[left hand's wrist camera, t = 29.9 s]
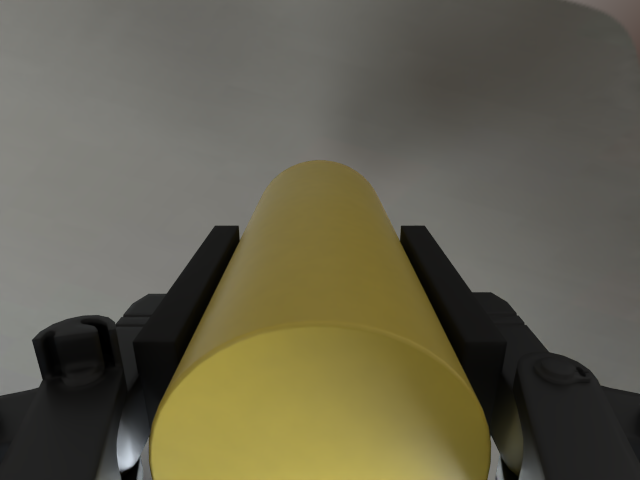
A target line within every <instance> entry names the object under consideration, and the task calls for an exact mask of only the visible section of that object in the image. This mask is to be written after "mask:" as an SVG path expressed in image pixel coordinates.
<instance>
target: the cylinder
mask: <svg viewBox="0 0 640 480" xmlns="http://www.w3.org/2000/svg"><path fill="white" fill-rule="evenodd" d="M490 462H491V440H490V433H489V427H488V424H487V421H486V418H485V415H484V412H483V409H482V407H481V405H480V403H479V401H478V399H477V397H476V395H475V392H474V390H473V388H472V386H471V384H470V382H469V380H468V378H467V376H466V374H465V372H464V370H463V368H462V366H461V364H460V362H459V360H458V358H457V356H456V354H455V352H454V350H453V348H452V346H451V344H450V342H449V340H448V338H447V336H446V334H445V332H444V330H443V328H442V326H441V324H440V322H439V320H438V318H437V315H436V313H435V311H434V309H433V307H432V305H431V303H430V301H429V299H428V297H427V295H426V293H425V291H424V289H423V287H422V285H421V283H420V281H419V279H418V277H417V275H416V273H415V271H414V269H413V267H412V265H411V263H410V261H409V259H408V257H407V255H406V253H405V251H404V249H403V247H402V245H401V243H400V241H399V238H398V236H397V234H396V232H395V230H394V228H393V226H392V224H391V222H390V220H389V218H388V216H387V214H386V212H385V210H384V208H383V206H382V204H381V202H380V200H379V198H378V196H377V194H376V192H375V190H374V189H373V187H372V186H371V185H370V183H369V182H368V181H367V180H366V179H365V178H364V177H363V176H362V175H360V174H359V173H358V172H357V171H355V170H353V169H352V168H350V167H348V166H345V165H343V164H340V163H336V162H332V161H325V160H315V161H307V162H303V163H299V164H297V165H294V166H292V167H290V168H288V169H286V170H285V171H283V172H282V173H280V174H279V175H278V176H277V177H276V178H275V179H274V180H273V181H272V182H271V183H270V184H269V185H268V187H267V188H266V190H265V191H264V193H263V195H262V197H261V199H260V201H259V203H258V205H257V207H256V209H255V211H254V213H253V215H252V217H251V219H250V221H249V223H248V225H247V227H246V229H245V231H244V233H243V235H242V237H241V240H240V242H239V244H238V246H237V248H236V250H235V252H234V254H233V256H232V258H231V260H230V262H229V264H228V266H227V268H226V270H225V272H224V274H223V276H222V278H221V280H220V282H219V284H218V286H217V288H216V290H215V292H214V294H213V296H212V298H211V300H210V302H209V304H208V306H207V308H206V311H205V313H204V315H203V317H202V319H201V321H200V323H199V325H198V327H197V329H196V331H195V333H194V335H193V337H192V339H191V341H190V343H189V345H188V347H187V349H186V351H185V353H184V355H183V357H182V359H181V361H180V363H179V365H178V367H177V369H176V371H175V373H174V375H173V377H172V380H171V382H170V384H169V386H168V388H167V390H166V392H165V394H164V396H163V398H162V400H161V402H160V404H159V406H158V409H157V411H156V414H155V417H154V419H153V422H152V427H151V432H150V437H149V464H150V470H151V476H152V479H153V480H487V478H488V473H489V468H490Z"/></svg>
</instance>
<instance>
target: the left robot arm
mask: <svg viewBox="0 0 640 480" xmlns="http://www.w3.org/2000/svg"><path fill="white" fill-rule="evenodd" d="M239 242H240V239H239V226H215V227H214V228H213V229H212V231H211V232H210V234H209V235H208V236H207V238H206V239H205V241H204V242H203V243H202V245H201V246H200V248H199V249H198V250H197V252H196V253H195V255H194V256H193V258H192V259H191V260H190V262H189V263H188V265H187V266H186V267H185V269H184V270H183V272H182V273H181V274H180V276H179V277H178V279H177V280H176V281H175V283H174V284H173V286H172V287H171V288H170V290H169V291H168V293H167V294H148V295H146V296H144V297H143V298H141V299H140V300H138V301H136V302H135V303H133V304H132V305H131V306H130V308H129V309H128V310H127V311H126V312H125V314H124V315H123V317H121V318H120V320H119V321H118V322H117V323H116V326H115V322H114V321H113V320H111V319H110V318H109V317H104V316H99V315H89V316H79V317H75V318H70V319H66V320H63V321H61V322H58V323H55V324H53V325H51V326H49V327H47V328H46V329H44V330H42V331H41V332H39V333H38V334H37V335H36V336H35V338H34V339H33V340H32V342H33V345H34V349H35V353H36V356H37V360H38V364H39V368H40V371H41V375H42V379H43V381H42V382H41V384H40V386H39V388H36V389H32V390H27V391H22V392H17V393H12V394H7V395H2V396H0V480H143V468H142V462H141V456H140V454H141V452H142V450H143V448H144V446H145V444H146V442H147V440H148V437H150V432H151V427H152V422H153V419H154V417H155V414H156V411H157V409H158V406H159V404H160V402H161V400H162V398H163V396H164V394H165V392H166V390H167V388H168V386H169V384H170V382H171V380H172V377H173V375H174V373H175V371H176V369H177V367H178V365H179V363H180V361H181V359H182V357H183V355H184V353H185V351H186V349H187V347H188V345H189V343H190V341H191V339H192V337H193V335H194V333H195V331H196V329H197V327H198V325H199V323H200V321H201V319H202V317H203V315H204V313H205V311H206V308H207V306H208V304H209V302H210V300H211V298H212V296H213V294H214V292H215V290H216V288H217V286H218V284H219V282H220V280H221V278H222V276H223V274H224V272H225V270H226V268H227V266H228V264H229V262H230V260H231V258H232V256H233V254H234V252H235V250H236V248H237V246H238V244H239ZM400 243H401V245H402V247H403V249H404V251H405V253H406V255H407V257H408V259H409V261H410V263H411V265H412V267H413V269H414V271H415V273H416V275H417V277H418V279H419V281H420V283H421V285H422V287H423V289H424V291H425V293H426V295H427V297H428V299H429V301H430V303H431V305H432V307H433V309H434V311H435V313H436V315H437V318H438V320H439V322H440V324H441V326H442V328H443V330H444V332H445V334H446V336H447V338H448V340H449V342H450V344H451V346H452V348H453V350H454V352H455V354H456V356H457V358H458V360H459V362H460V364H461V366H462V368H463V370H464V372H465V374H466V376H467V378H468V380H469V382H470V384H471V386H472V388H473V390H474V392H475V395H476V397H477V399H478V401H479V403H480V405H481V407H482V409H483V412H484V415H485V418H486V421H487V424H488V427H489V433H490V437H491V436H492V438H493V440H494V442H495V444H496V446H497V448H498V450H499V453H500V456H499V462H498V467H497V472H496V477H495V480H640V394H638V393H633V392H628V391H623V390H618V389H613V388H608V387H604V386H600V384H599V382H598V380H597V378H596V377H595V376H594V375H593V373H592V372H591V371H590V370H589V369H587V368H586V367H585V366H583V365H582V364H580V363H579V362H577V361H575V360H572V359H570V358H568V357H565V356H562V355H558V354H554V353H550V352H548V350H547V349H546V348H545V347H544V346H543V344H542V343H541V342H540V341H539V340H538V338H537V337H536V336H535V335H534V334H533V332H532V331H531V330H530V329H529V328H528V326H527V325H525V324H524V322H523V320H522V319H521V318H520V317H519V316H517V313H516V312H515V311H514V310H513V308H512V307H511V306H510V305H509V304H508V303H507V302H506V301H505V300H503V299H501V298H500V297H498V296H496V295H495V294H493V293H491V292H471V290H470V289H469V287H468V286H467V285H466V283H465V282H464V280H463V279H462V278H461V276H460V275H459V273H458V272H457V271H456V269H455V268H454V266H453V265H452V264H451V262H450V261H449V259H448V258H447V257H446V255H445V254H444V252H443V251H442V249H441V248H440V247H439V245H438V244H437V242H436V241H435V240H434V238H433V237H432V235H431V234H430V233H429V231H428V230H427V228H426V227H425V226H401V235H400Z"/></svg>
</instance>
